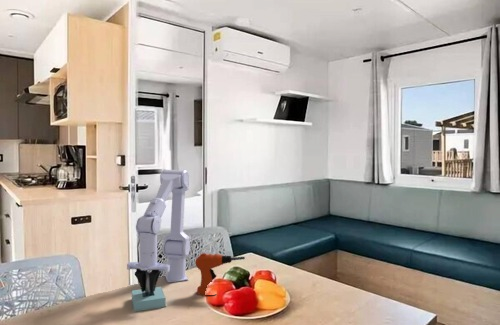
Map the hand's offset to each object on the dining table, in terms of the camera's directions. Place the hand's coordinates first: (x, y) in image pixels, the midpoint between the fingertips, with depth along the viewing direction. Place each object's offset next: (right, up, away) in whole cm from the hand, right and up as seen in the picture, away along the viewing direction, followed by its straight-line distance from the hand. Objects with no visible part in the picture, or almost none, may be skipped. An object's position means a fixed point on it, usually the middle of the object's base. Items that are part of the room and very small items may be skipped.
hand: (148, 291), depth 120 cm
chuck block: (0, -4, 0) cm, 4 cm away
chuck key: (0, -4, 0) cm, 4 cm away
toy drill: (+24, -4, +9) cm, 25 cm away
